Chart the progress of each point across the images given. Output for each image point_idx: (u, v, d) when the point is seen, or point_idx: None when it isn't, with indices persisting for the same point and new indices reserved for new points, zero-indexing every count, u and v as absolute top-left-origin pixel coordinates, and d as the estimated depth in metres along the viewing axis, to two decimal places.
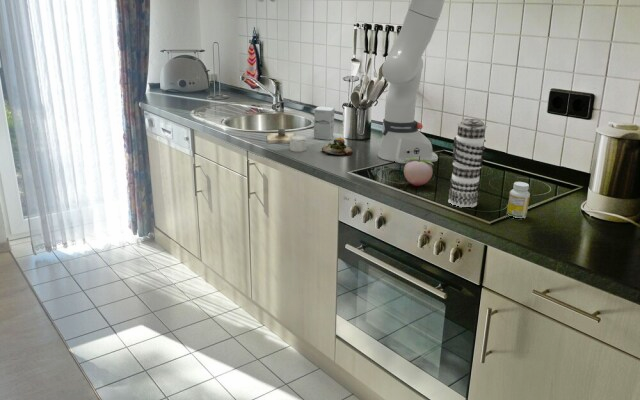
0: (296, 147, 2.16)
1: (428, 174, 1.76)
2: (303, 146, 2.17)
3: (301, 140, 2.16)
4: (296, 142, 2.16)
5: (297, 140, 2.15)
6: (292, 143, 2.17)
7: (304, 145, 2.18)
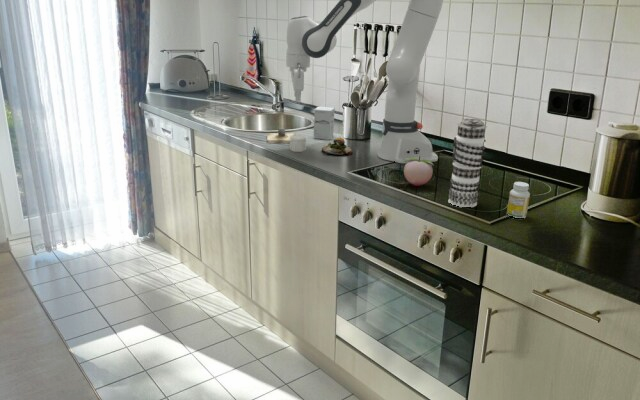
0: (296, 147, 2.16)
1: (428, 174, 1.76)
2: (303, 146, 2.17)
3: (301, 140, 2.16)
4: (296, 142, 2.16)
5: (297, 140, 2.15)
6: (292, 143, 2.17)
7: (304, 145, 2.18)
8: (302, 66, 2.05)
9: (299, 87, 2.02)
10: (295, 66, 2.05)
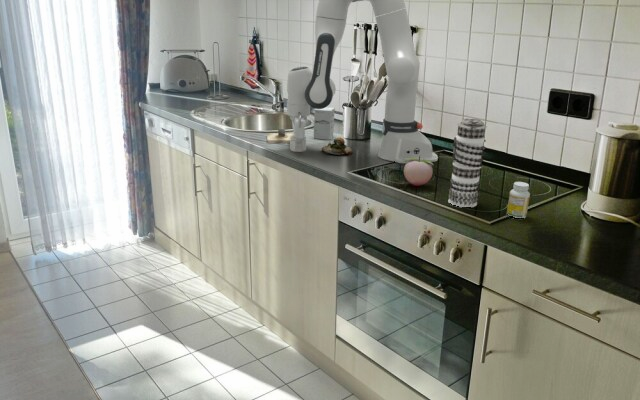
0: (296, 147, 2.16)
1: (428, 174, 1.76)
2: (303, 146, 2.17)
3: None
4: None
5: None
6: (292, 143, 2.17)
7: (304, 145, 2.18)
8: (303, 115, 2.11)
9: (300, 136, 2.08)
10: (296, 115, 2.11)
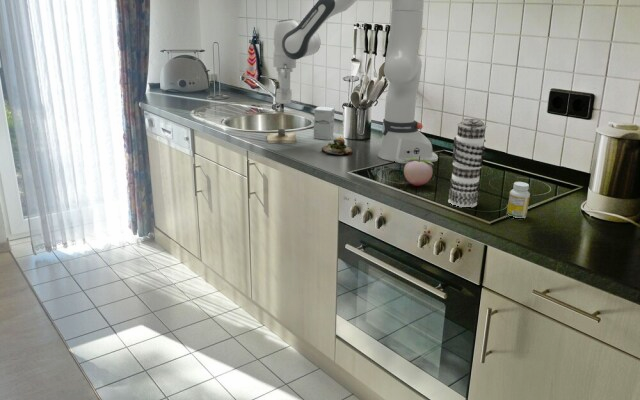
0: None
1: (428, 174, 1.76)
2: (288, 99, 2.23)
3: (287, 92, 2.21)
4: None
5: None
6: (277, 95, 2.22)
7: (289, 97, 2.23)
8: (288, 67, 2.17)
9: (286, 87, 2.13)
10: (282, 67, 2.16)
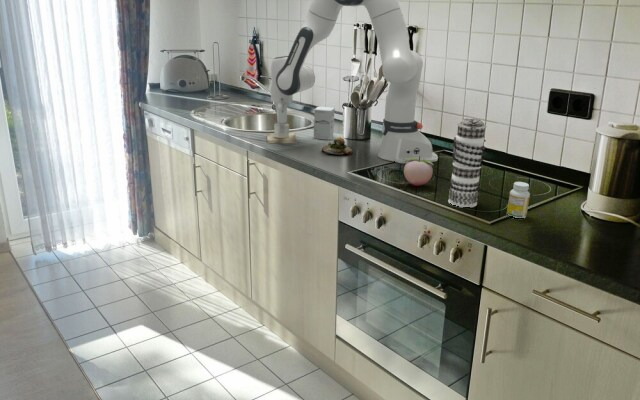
0: (279, 133, 2.30)
1: (428, 174, 1.76)
2: (286, 133, 2.31)
3: None
4: (279, 129, 2.30)
5: None
6: (275, 130, 2.31)
7: (287, 132, 2.31)
8: (285, 101, 2.25)
9: (283, 121, 2.21)
10: (279, 101, 2.24)
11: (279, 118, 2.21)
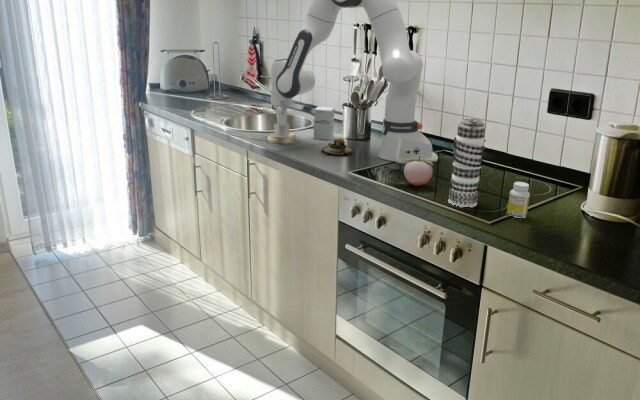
0: (279, 133, 2.30)
1: (428, 174, 1.76)
2: (286, 133, 2.31)
3: None
4: (279, 129, 2.30)
5: None
6: (275, 130, 2.31)
7: (287, 132, 2.31)
8: (285, 104, 2.25)
9: (283, 124, 2.22)
10: (279, 104, 2.25)
11: (279, 121, 2.21)
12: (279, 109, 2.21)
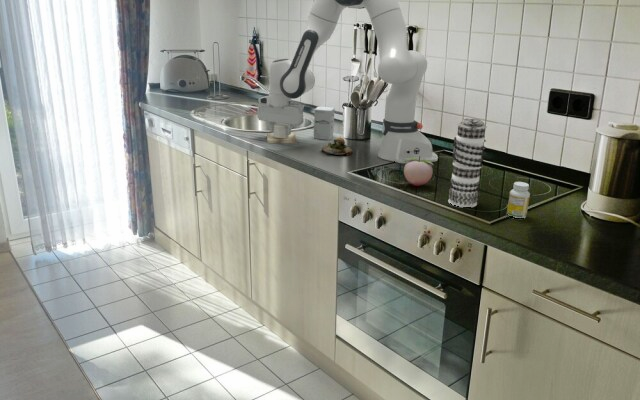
0: None
1: (428, 174, 1.76)
2: None
3: None
4: (288, 127, 2.32)
5: None
6: None
7: None
8: None
9: (302, 122, 2.26)
10: (288, 104, 2.25)
11: (300, 119, 2.25)
12: (298, 108, 2.24)
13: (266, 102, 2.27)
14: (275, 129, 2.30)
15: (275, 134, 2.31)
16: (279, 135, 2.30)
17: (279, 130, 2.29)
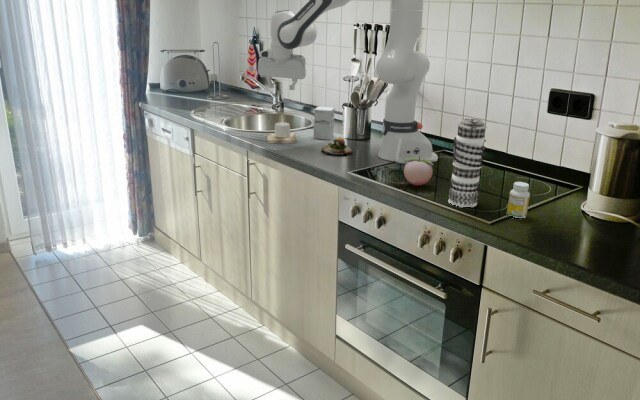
0: None
1: (428, 174, 1.76)
2: None
3: None
4: (289, 127, 2.33)
5: (289, 125, 2.33)
6: (288, 130, 2.31)
7: None
8: None
9: (304, 75, 2.21)
10: (289, 57, 2.20)
11: (302, 73, 2.20)
12: (300, 61, 2.19)
13: (267, 55, 2.21)
14: (277, 129, 2.31)
15: (277, 134, 2.32)
16: (281, 134, 2.31)
17: (281, 130, 2.30)
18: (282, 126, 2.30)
